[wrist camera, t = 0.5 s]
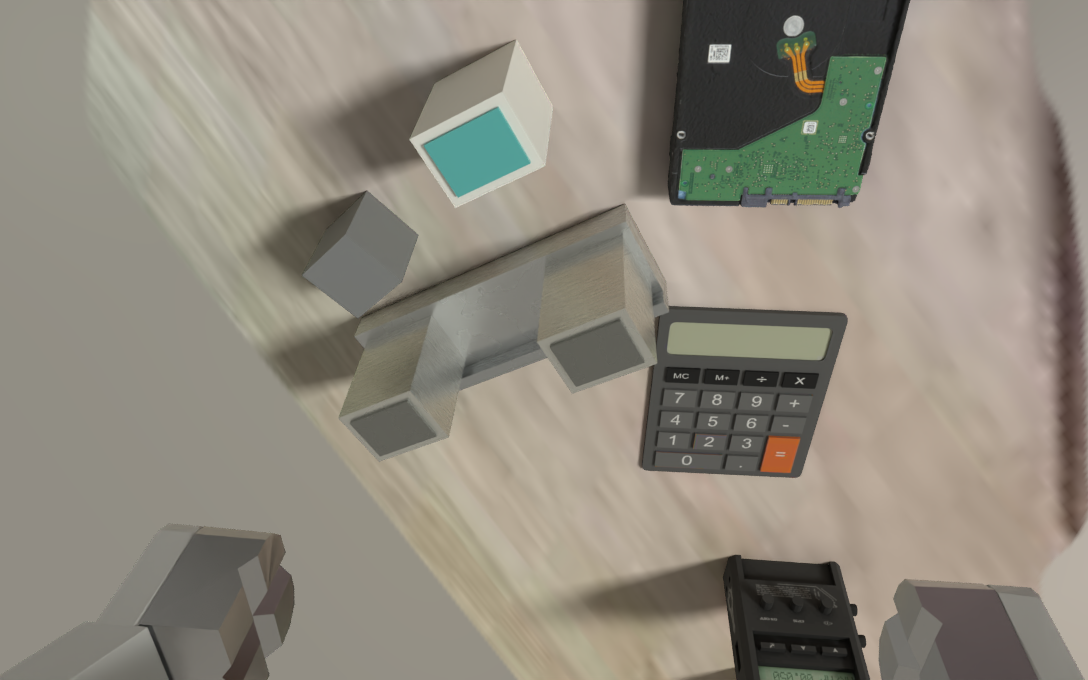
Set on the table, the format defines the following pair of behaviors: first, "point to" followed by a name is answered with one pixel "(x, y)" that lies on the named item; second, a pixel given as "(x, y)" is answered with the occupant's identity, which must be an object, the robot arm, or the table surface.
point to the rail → (507, 330)
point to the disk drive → (779, 99)
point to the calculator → (738, 389)
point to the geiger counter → (792, 622)
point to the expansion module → (485, 125)
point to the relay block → (362, 255)
